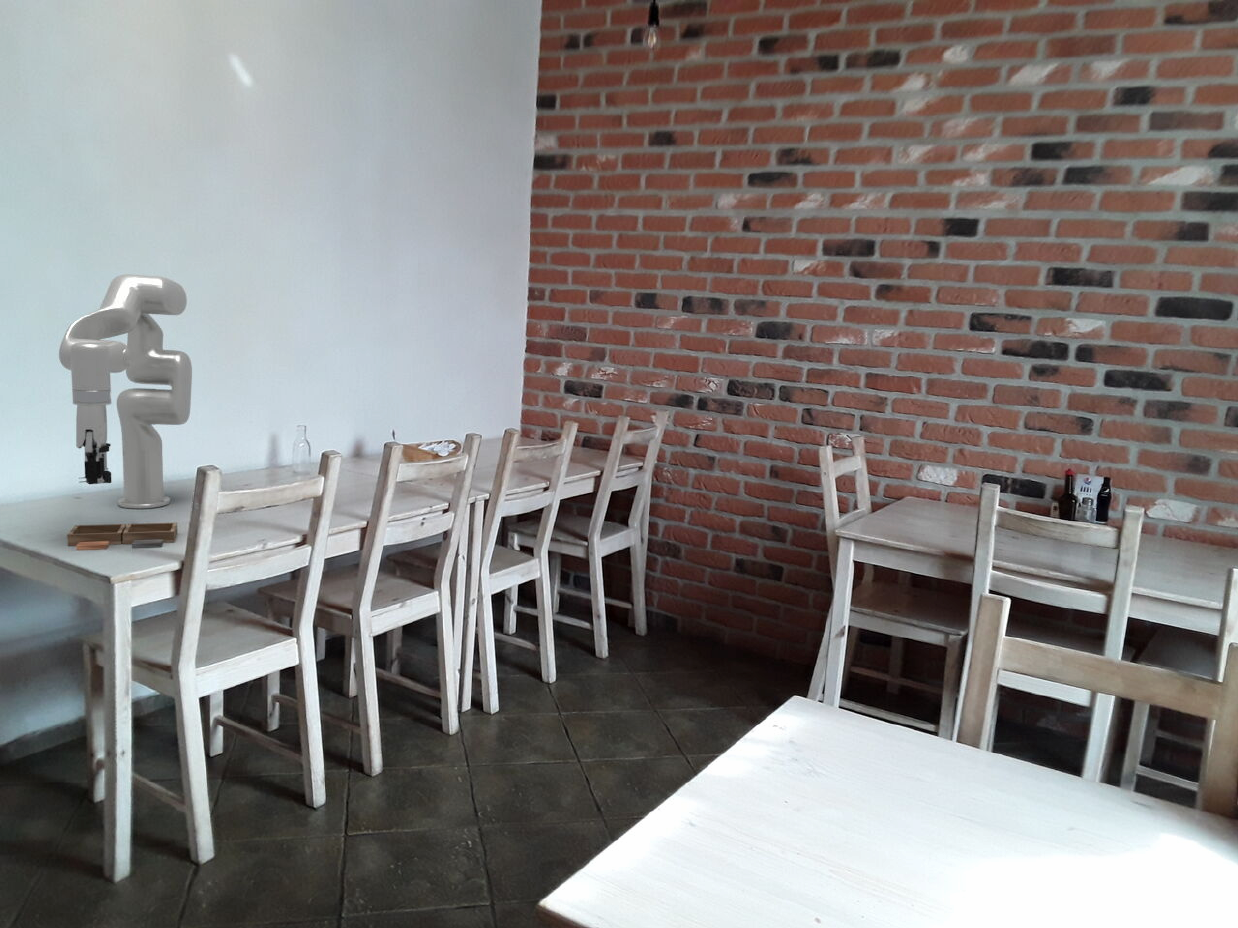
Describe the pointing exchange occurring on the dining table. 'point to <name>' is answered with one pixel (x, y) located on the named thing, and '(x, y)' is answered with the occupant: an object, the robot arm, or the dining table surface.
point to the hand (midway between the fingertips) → (95, 475)
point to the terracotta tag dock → (95, 536)
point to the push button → (105, 473)
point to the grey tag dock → (149, 534)
